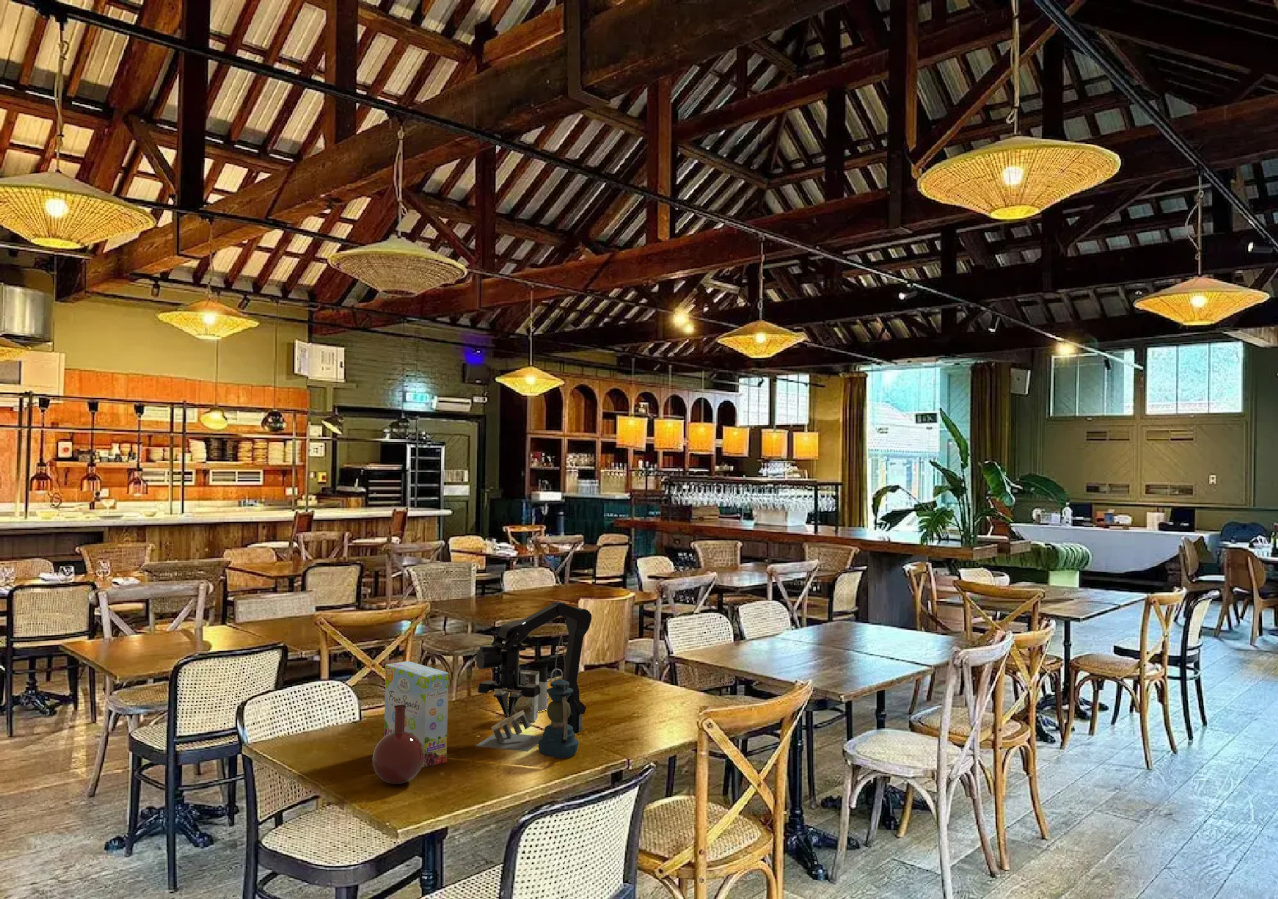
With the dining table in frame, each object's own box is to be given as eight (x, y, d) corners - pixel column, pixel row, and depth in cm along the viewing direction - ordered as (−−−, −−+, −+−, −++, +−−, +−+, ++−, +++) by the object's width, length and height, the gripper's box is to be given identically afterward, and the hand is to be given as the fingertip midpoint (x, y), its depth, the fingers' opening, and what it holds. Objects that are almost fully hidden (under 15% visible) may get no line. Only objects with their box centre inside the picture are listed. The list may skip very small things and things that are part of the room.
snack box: (380, 752, 257) (383, 663, 258) (406, 746, 263) (409, 660, 264) (422, 769, 242) (425, 675, 243) (448, 762, 249) (451, 671, 250)
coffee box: (507, 721, 293) (508, 673, 293) (512, 716, 299) (513, 669, 300) (534, 723, 292) (535, 674, 292) (538, 718, 298) (539, 670, 299)
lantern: (532, 748, 264) (535, 631, 265) (570, 744, 268) (573, 629, 270) (544, 762, 251) (547, 639, 252) (584, 758, 255) (586, 637, 256)
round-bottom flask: (416, 772, 240) (418, 698, 240) (429, 787, 228) (431, 709, 229) (367, 779, 233) (369, 703, 234) (377, 794, 222) (380, 714, 223)
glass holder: (520, 707, 312) (521, 665, 312) (557, 704, 318) (558, 662, 318) (527, 713, 304) (528, 670, 304) (566, 710, 310) (567, 667, 310)
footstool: (509, 737, 273) (530, 726, 271) (498, 744, 265) (520, 733, 264) (501, 720, 274) (523, 710, 272) (491, 727, 266) (512, 716, 265)
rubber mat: (547, 738, 274) (547, 736, 274) (527, 753, 259) (527, 751, 259) (496, 733, 278) (497, 731, 278) (474, 747, 263) (475, 746, 263)
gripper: (547, 663, 275) (546, 713, 275) (492, 659, 280) (491, 708, 279) (534, 670, 265) (532, 722, 264) (477, 665, 269) (476, 717, 269)
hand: (508, 717), depth 269 cm, fingers closed
